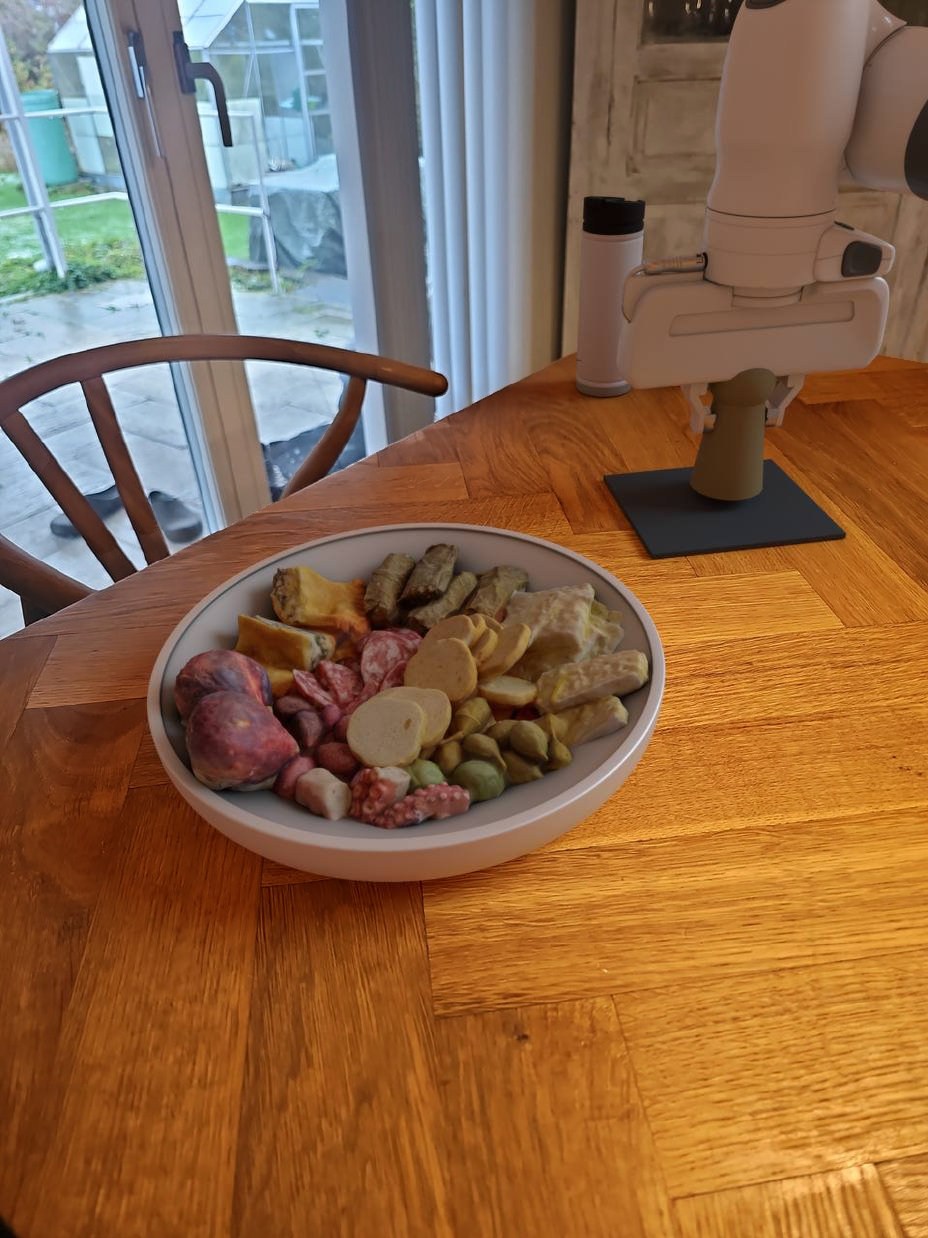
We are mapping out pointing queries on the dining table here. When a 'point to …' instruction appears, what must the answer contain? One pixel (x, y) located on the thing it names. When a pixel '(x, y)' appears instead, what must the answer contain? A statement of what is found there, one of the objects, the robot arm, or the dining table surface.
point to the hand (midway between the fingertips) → (735, 427)
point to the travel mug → (605, 289)
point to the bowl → (407, 700)
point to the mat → (717, 514)
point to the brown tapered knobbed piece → (735, 438)
